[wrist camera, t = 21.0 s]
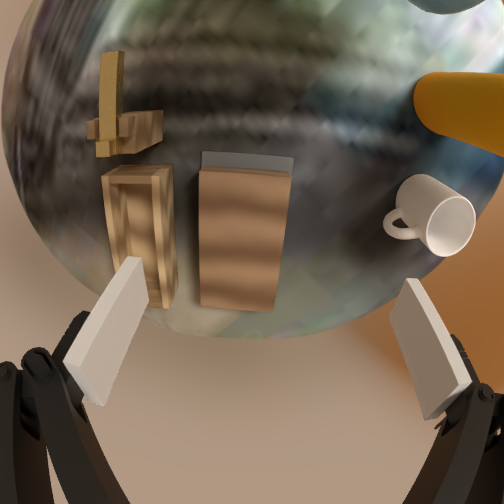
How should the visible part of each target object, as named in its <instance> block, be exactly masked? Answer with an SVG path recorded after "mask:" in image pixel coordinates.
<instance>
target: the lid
mask: <svg viewBox="0 0 504 504" xmlns="http://www.w3.org/2000/svg"><path fill="white" fill-rule="evenodd" d="M291 180H292V177H291V174H290V172H286V171H275V170H264V169H252V168H238V167H221V166H203V167H202V168H201V170H200V171H199V267H200V298H201V307H212V308H222V309H234V310H247V311H260V312H273V310H274V303H275V297H276V290H277V284H278V277H279V270H280V263H281V256H282V249H283V242H284V235H285V227H286V220H287V212H288V204H289V197H290V189H291Z"/></svg>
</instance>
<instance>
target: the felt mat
mask: <svg viewBox="0 0 504 504" xmlns="http://www.w3.org/2000/svg"><path fill="white" fill-rule="evenodd" d="M293 163H294V158H293V157H284V156H274V155H262V154H249V153H235V152H216V151H202V164H201V168H202V167H203V166H221V167H238V168H252V169H264V170H275V171H286V172H290V174H291V177H292V172H293Z"/></svg>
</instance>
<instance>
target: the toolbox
mask: <svg viewBox="0 0 504 504" xmlns="http://www.w3.org/2000/svg"><path fill="white" fill-rule="evenodd" d="M119 137H122V144H123V151H122V152H120V153H118V154H133V153H137V152H139V151H142V150H144V149H146V148H148V147H150V146H152V145H154V144H156V143H158V142H160V141H162V140H163V110H153V111H136V112H126V113H122V117H120V118H119ZM88 139H96V142H97V141H100V133H99V118H95V119H94V120H90V121H87V140H88ZM101 177H102V188H103V197H104V206H105V214H106V221H107V228H108V235H109V241H110V247H111V253H112V258H113V264H114V269H115V274H116V272H117V271H118V269H119V268H120V266H121V265H122V264H123V262H124V261H125V259H126V258H127V256H131V257H141V258H142V263H143V270H144V275H145V281H146V287H147V292H148V297H149V302H148V305H147V306H150V307H158V308H166V309H170V307H171V304H172V301H173V299H174V296H175V294H176V291H177V288H178V286H179V284H178V272H177V257H176V241H175V220H174V187H173V165H168V164H126V165H120V166H118V167H116V168H114V169H112V170H111V171H109V172H107V173H106V174H104V175H102V176H101Z"/></svg>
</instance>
